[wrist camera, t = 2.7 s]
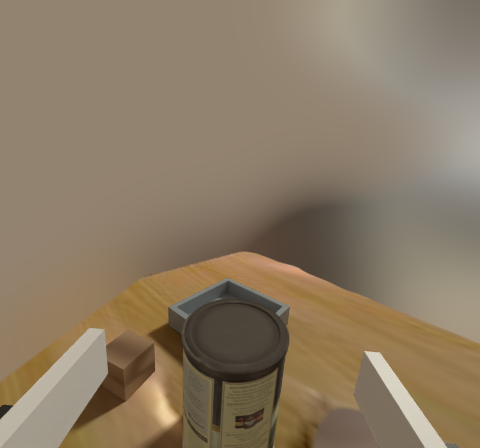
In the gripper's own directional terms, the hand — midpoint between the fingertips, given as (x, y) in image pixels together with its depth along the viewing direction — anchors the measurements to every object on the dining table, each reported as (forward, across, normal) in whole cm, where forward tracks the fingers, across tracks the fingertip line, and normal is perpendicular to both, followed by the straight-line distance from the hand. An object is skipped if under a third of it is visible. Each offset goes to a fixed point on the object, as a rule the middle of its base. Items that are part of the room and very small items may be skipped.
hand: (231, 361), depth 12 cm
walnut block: (+16, -14, -20) cm, 29 cm away
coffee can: (+10, 0, -20) cm, 22 cm away
